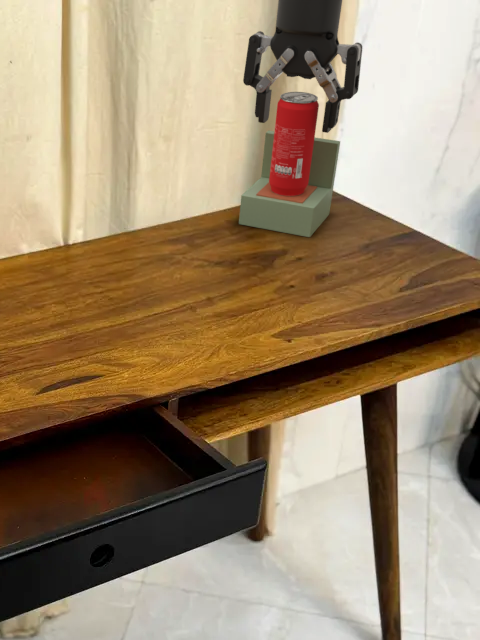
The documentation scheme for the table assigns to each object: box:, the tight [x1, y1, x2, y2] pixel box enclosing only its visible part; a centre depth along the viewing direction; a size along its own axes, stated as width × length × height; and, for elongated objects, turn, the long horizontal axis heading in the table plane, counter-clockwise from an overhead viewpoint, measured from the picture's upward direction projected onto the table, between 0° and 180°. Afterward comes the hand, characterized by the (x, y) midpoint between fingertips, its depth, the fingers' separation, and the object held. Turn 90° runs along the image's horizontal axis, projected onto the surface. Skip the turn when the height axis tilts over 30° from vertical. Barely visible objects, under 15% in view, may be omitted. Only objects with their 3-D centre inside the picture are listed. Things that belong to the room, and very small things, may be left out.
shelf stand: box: [238, 130, 341, 238], centre depth 132 cm, size 10×9×10 cm
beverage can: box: [269, 91, 320, 196], centre depth 128 cm, size 5×5×12 cm
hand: (294, 126), depth 127 cm, fingers open, 8 cm apart
